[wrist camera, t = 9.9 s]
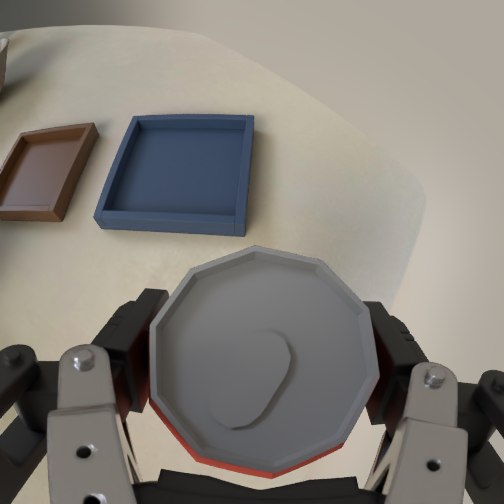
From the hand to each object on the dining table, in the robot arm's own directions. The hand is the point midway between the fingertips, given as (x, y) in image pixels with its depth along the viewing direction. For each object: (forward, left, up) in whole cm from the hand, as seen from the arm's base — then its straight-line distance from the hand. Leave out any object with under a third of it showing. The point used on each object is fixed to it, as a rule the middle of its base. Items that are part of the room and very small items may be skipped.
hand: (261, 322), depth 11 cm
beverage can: (0, +2, -9) cm, 9 cm away
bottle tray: (+26, -17, -14) cm, 34 cm away
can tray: (+8, -17, -14) cm, 24 cm away
